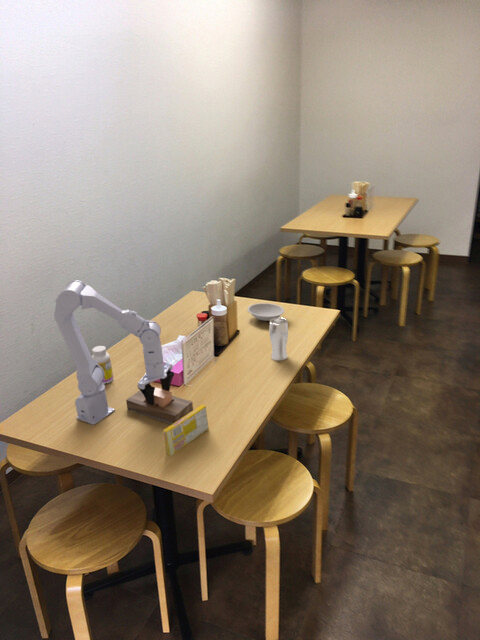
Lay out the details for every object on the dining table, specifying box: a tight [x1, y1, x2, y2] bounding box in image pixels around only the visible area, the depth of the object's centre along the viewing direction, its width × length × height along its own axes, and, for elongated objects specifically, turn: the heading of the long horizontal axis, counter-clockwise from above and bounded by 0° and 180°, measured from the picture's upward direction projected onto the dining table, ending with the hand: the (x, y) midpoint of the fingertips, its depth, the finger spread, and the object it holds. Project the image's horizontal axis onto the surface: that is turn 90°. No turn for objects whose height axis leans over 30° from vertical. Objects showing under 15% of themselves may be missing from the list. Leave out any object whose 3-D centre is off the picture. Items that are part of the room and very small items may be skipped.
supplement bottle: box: [91, 345, 114, 385], centre depth 192 cm, size 7×7×13 cm
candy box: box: [162, 404, 210, 457], centre depth 156 cm, size 16×2×8 cm, turn 141°
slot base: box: [125, 390, 194, 425], centre depth 173 cm, size 9×20×4 cm, turn 58°
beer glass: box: [268, 317, 289, 362], centre depth 201 cm, size 7×7×15 cm
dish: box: [247, 302, 285, 322], centre depth 236 cm, size 18×14×5 cm
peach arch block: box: [145, 385, 173, 408], centre depth 173 cm, size 4×8×6 cm, turn 58°
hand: (158, 398), depth 172 cm, fingers open, 7 cm apart
